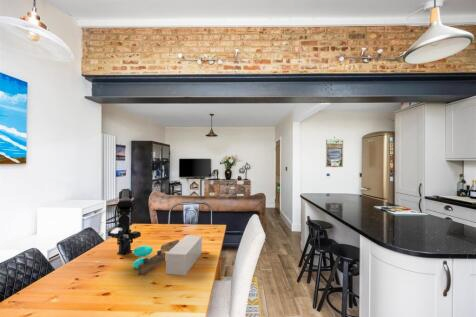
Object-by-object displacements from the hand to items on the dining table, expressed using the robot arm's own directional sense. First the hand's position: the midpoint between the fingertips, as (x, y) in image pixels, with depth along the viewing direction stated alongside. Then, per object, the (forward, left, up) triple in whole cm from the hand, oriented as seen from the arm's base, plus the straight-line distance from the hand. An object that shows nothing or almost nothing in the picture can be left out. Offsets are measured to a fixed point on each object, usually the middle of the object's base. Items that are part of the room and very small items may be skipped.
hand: (123, 248), depth 141 cm
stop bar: (+19, 0, -8) cm, 21 cm away
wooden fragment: (+9, +35, -9) cm, 37 cm away
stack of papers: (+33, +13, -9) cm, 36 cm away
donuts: (+13, 0, -9) cm, 15 cm away
